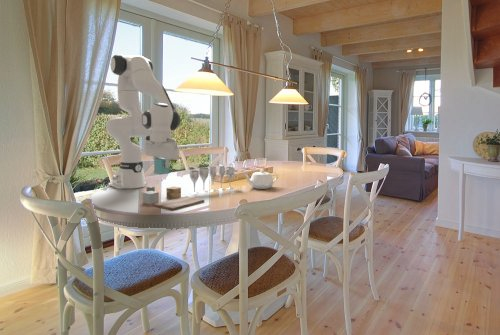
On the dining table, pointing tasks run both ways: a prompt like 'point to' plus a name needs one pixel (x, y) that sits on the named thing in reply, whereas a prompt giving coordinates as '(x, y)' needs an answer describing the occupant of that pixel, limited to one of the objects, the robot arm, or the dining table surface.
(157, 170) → the teal block
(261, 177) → the teapot
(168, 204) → the walnut board
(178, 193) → the oak block
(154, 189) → the charcoal cylinder
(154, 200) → the grey block
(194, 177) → the goblet set
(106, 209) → the dining table surface
